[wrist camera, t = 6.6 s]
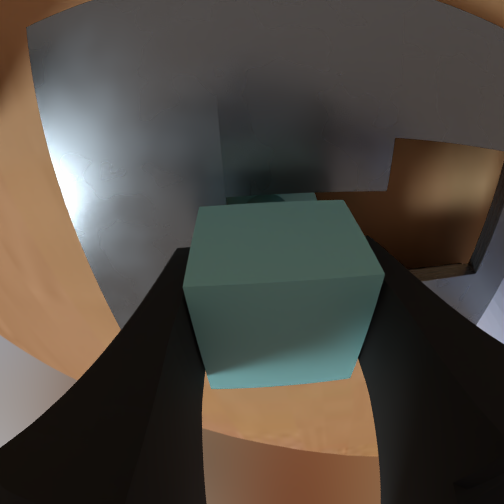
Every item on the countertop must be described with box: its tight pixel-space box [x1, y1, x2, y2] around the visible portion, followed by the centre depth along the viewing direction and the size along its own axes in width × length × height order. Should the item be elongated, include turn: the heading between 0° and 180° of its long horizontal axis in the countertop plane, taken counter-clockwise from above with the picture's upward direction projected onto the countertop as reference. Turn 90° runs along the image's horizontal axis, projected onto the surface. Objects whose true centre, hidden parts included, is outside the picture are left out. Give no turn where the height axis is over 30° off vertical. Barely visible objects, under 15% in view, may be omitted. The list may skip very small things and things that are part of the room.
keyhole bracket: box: [26, 0, 504, 329], centre depth 12 cm, size 20×16×4 cm
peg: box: [183, 193, 385, 389], centre depth 10 cm, size 4×4×8 cm
